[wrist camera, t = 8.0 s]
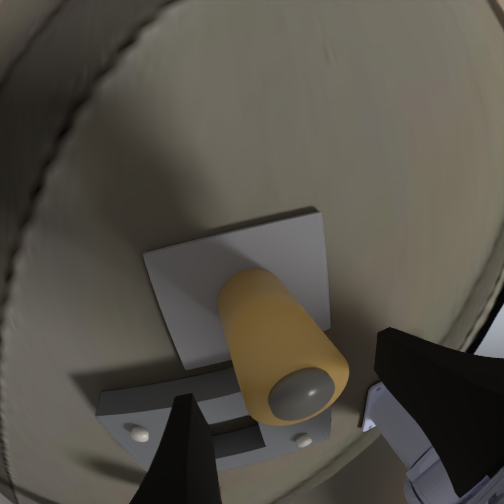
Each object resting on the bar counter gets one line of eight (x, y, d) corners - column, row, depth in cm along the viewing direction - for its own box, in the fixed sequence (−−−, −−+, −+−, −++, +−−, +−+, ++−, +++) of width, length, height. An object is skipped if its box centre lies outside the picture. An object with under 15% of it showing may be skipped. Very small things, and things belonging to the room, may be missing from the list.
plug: (282, 262, 16) (360, 340, 8) (286, 321, 17) (347, 412, 10) (211, 275, 15) (239, 375, 8) (223, 336, 16) (254, 442, 9)
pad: (318, 210, 16) (321, 212, 15) (328, 325, 18) (330, 328, 18) (143, 252, 14) (142, 255, 14) (185, 366, 17) (185, 370, 16)
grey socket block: (315, 341, 18) (335, 367, 16) (319, 419, 22) (332, 442, 19) (101, 391, 16) (93, 422, 13) (154, 458, 19) (155, 484, 16)
